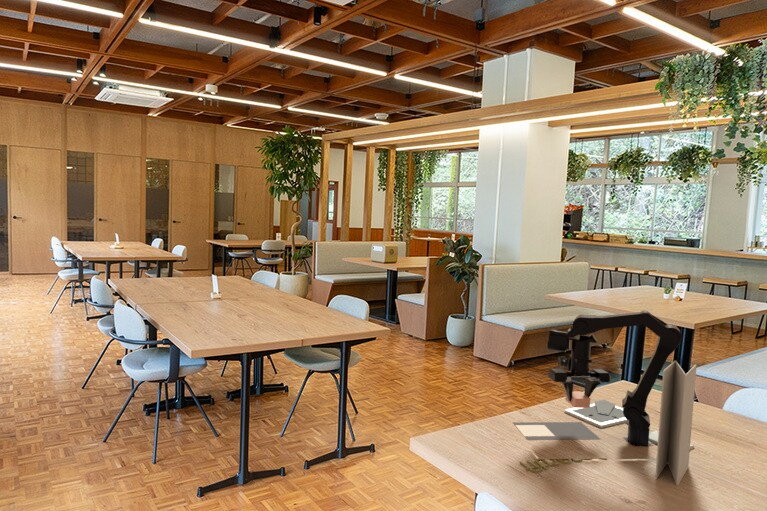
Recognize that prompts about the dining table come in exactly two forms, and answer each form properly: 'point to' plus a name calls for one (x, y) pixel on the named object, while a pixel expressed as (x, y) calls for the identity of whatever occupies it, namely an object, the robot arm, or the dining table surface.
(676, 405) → the brochure
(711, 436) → the dining table surface
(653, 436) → the hard drive
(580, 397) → the card deck
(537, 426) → the mat
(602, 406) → the picture frame
